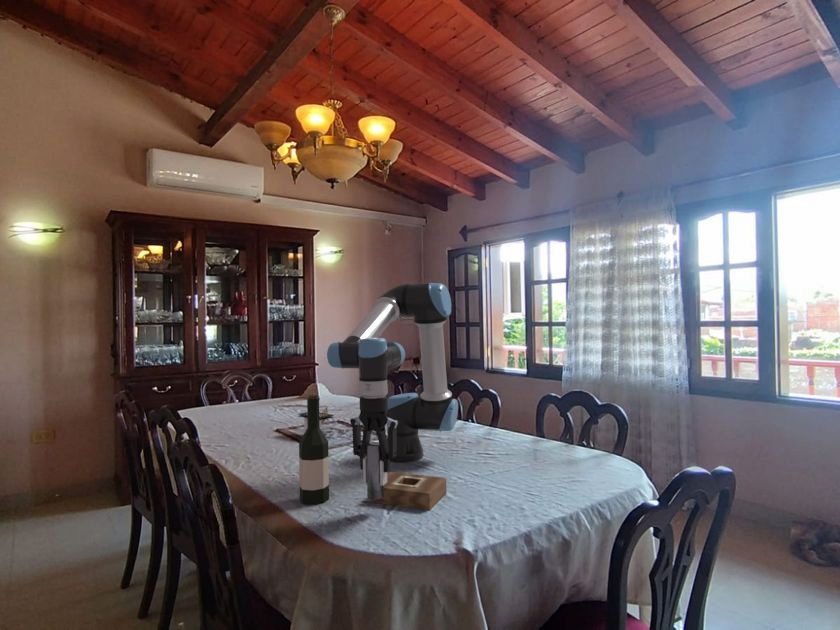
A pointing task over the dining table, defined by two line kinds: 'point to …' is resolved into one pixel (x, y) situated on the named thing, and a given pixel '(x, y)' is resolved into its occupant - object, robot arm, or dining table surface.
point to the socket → (412, 490)
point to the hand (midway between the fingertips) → (375, 482)
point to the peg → (374, 471)
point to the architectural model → (321, 419)
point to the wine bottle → (313, 459)
